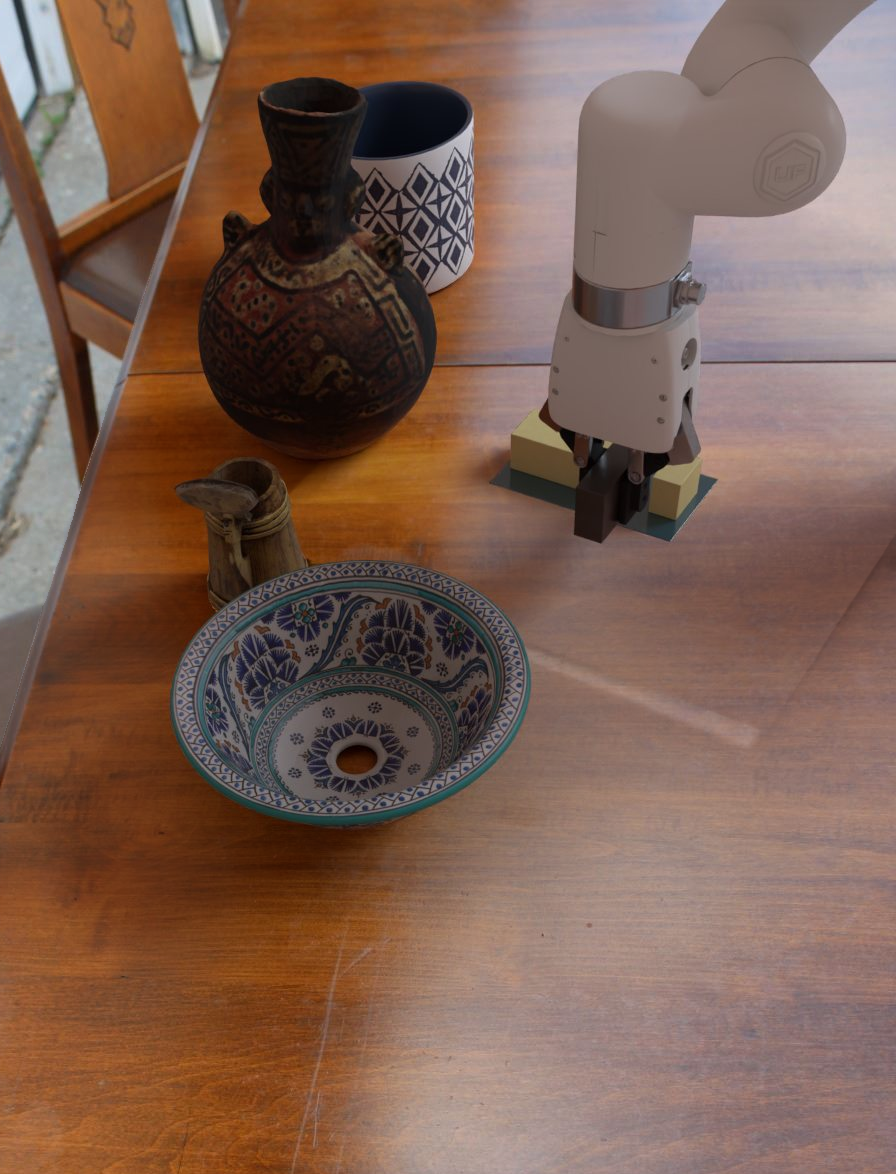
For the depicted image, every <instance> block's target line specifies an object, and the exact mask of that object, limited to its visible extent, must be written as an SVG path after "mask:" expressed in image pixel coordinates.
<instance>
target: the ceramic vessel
mask: <svg viewBox="0 0 896 1174" xmlns="http://www.w3.org/2000/svg"><path fill="white" fill-rule="evenodd" d="M356 89H357V88H355V87H353V86H350V85H347V84H345V83H344V82H342V81H339V80H337V79H335V78H327V77H321V76H308V77H307V76H304V77H303V76H301V77H296V78H292V79H287V80H284V81H277V82H273V83H271V84H268V85H266V86H264V87H263V89H262V90H260V91H259V93H258V95H257V99H256V100H257V101H256V103H257V109H258V117H259V120H260V126H261V130H262V133H263V136H264V140H265V142H266V147H267V150H268V154H269V158H270V164H271V166H270V167H269V168H268V169H267V171H266V172H265V173H264V175H263V177H262V179H261V182H260V184H259V187H258V191H259V196H260V199H261V202H262V204H263V205H264V207H265V209H266V210H267V212H268V213H269V215H270V216H269V217H268V218H267V219H266V220H264V221H261V222H260V223H258V224H256V223H252V222H251V221H250V220H249V219H248V218H247V217H246V216H245V215H244V214H243V213H241V212H239V211H238V210H230V211H228V212H227V214H225V215H224V216H223V218H222V222H221V223H222V224H221V225H222V228H221V229H222V230H221V232H222V240H223V247H224V249H223V252H222V254H221V256H220V257H219V259H218V260H217V262H216V263H215V264H214V265H213V267H212V270H211V272H210V274H209V276H208V277H207V280H206V282H205V283H204V284H205V285H204V288H203V290H202V294H201V298H200V304H199V310H198V322H197V342H198V351H199V352H198V353H199V358H200V363H201V368H202V371H203V374H204V377H205V380H206V382H207V384H208V386H209V388H210V390H211V392H212V395H213V397H214V398H215V400H216V401H217V403H218V404H219V406H220V407H221V409H222V410H223V411H224V413H225V414H226V415H227V416H228V417H229V418H230V419H231V420H232V421H233V422H234V423H235V424H237V425H238V426H239V427H240V428H241V429H243V430H244V431H245V432H247V433H248V434H249V435H250V436H252V437H254V438H255V439H256V440H258V441H259V442H261V444H263V445H264V446H267V447H269V448H271V449H273V450H276V451H278V452H280V453H282V454H284V455H287V456H290V457H294V458H297V459H301V460H310V461H325V460H331V459H339V458H342V457H347V456H350V455H353V454H356V453H358V452H361V451H364V450H365V449H367V448H369V447H371V446H372V445H373V444H375V443H376V442H378V441H379V440H381V439H382V438H383V437H384V436H386V435H387V434H389V433H390V431H392V430H393V429H394V428H395V427H396V426H397V425H399V423H400V422H401V421H402V420H403V419H404V418H405V417H406V416H407V415H408V414H409V413H410V411H411V410H412V409H413V407H414V406H415V405H416V404H417V402H418V401H419V399H420V397H421V395H422V393H423V392H424V390H425V388H426V386H427V383H428V381H429V379H430V376H431V374H432V371H433V368H434V364H435V358H436V351H437V346H438V345H437V344H438V329H437V324H436V318H435V314H434V313H435V312H434V309H433V306H432V303H431V299H430V296H429V294H427V291H426V289H425V286H424V284H423V282H422V280H421V279H420V277H419V275H418V274H417V272H416V271H415V269H414V268H413V267H412V266H411V265H410V264H409V262H408V261H407V260H406V259H405V258H404V255H405V252H404V245H403V242H402V240H401V239H400V238H399V237H398V236H396V235H394V234H391V233H383V234H378V235H376V234H374V233H373V232H371V231H369V230H368V229H366V228H365V227H363V226H361V225H359V224H358V223H356V222H354V221H352V220H351V219H352V218H353V217H354V215H355V214H356V213H357V212H358V211H359V210H360V209H361V207H362V205H363V204H364V202H365V198H366V186H365V183H364V181H363V179H362V177H361V176H360V175H359V173H358V172H357V171H356V170H354V169H353V167H352V165H351V159H352V154H353V148H354V145H355V142H356V140H357V137H358V134H359V131H360V129H361V126H362V123H363V120H364V119H365V116H366V112H367V108H368V100H367V98H366V96H365V95H363V94H361V93H360V91H358V90H356Z"/></svg>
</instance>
